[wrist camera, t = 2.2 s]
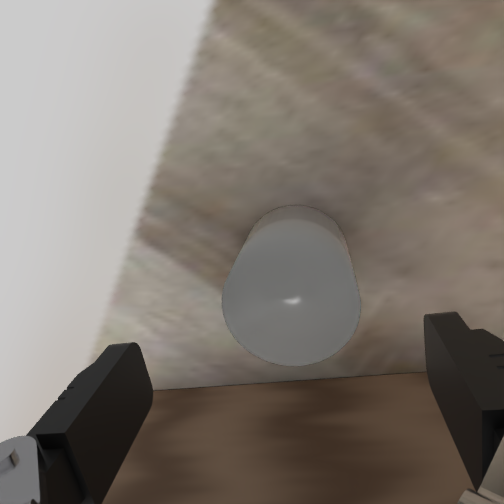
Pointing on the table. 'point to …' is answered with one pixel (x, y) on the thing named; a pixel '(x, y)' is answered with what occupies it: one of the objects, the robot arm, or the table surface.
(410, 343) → the table surface
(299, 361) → the smooth gray cylinder
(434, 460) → the stand
